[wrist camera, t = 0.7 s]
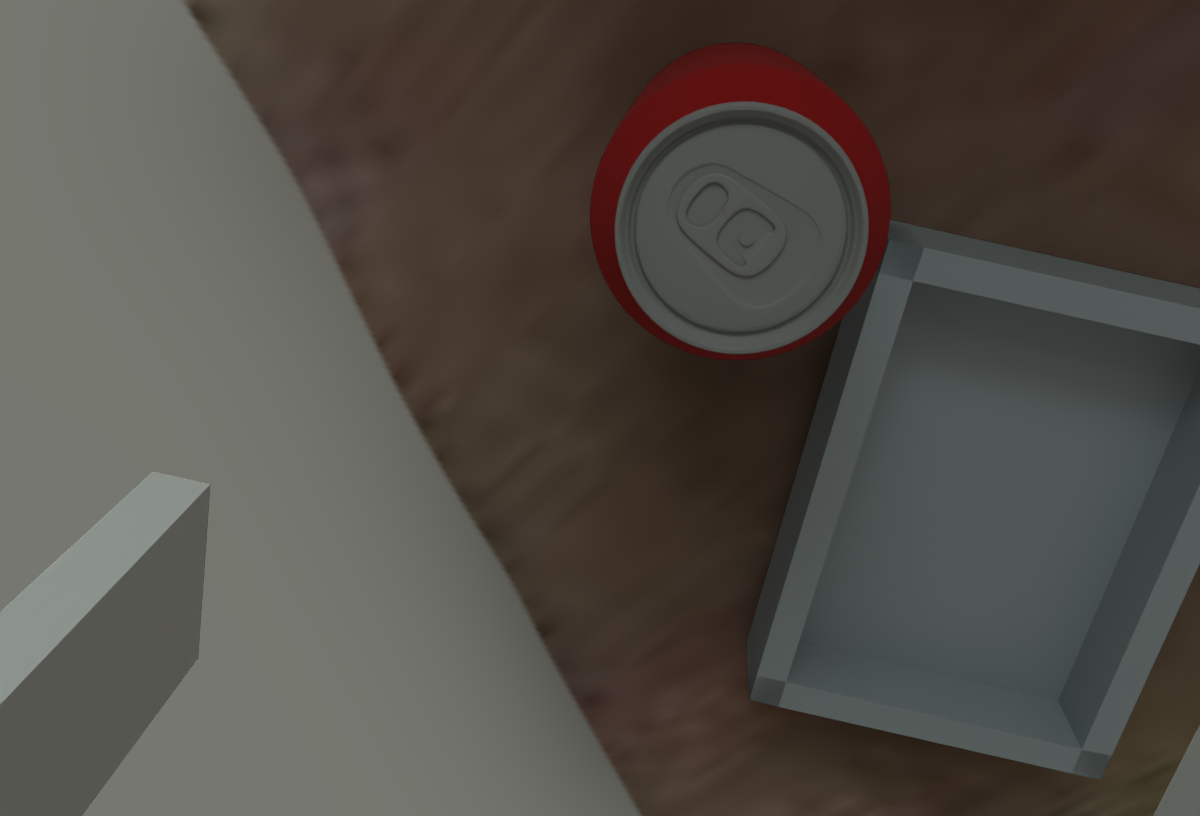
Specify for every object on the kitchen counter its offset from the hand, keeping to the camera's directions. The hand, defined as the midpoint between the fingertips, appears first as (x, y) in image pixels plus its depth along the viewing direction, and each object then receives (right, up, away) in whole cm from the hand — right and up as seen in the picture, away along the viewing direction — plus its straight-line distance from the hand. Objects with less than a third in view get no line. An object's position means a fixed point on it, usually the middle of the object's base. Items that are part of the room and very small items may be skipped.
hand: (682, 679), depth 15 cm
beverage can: (+3, +11, +20) cm, 24 cm away
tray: (+12, +1, +23) cm, 26 cm away
